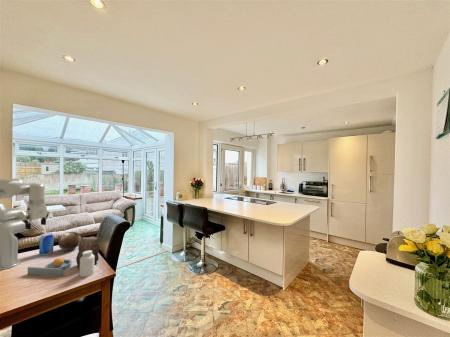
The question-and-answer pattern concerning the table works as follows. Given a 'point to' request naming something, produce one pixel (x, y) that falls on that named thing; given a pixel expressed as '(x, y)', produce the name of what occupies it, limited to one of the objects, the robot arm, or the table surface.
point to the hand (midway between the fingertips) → (36, 226)
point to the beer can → (46, 244)
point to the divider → (45, 271)
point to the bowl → (64, 266)
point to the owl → (88, 248)
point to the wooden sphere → (69, 241)
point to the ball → (58, 262)
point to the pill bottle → (87, 264)
